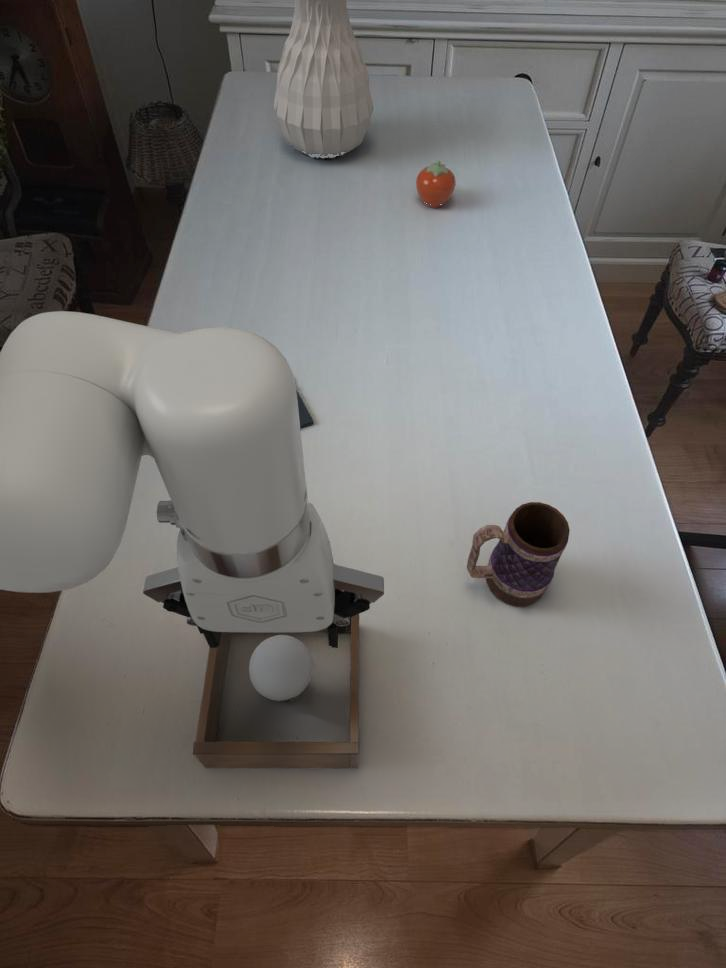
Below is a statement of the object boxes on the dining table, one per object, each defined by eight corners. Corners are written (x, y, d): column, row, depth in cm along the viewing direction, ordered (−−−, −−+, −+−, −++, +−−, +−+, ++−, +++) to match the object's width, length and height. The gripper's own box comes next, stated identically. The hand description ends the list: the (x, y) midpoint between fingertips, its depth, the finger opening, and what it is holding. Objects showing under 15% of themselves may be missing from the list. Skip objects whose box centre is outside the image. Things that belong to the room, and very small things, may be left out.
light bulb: (261, 726, 62) (248, 694, 54) (255, 669, 66) (242, 630, 58) (319, 714, 63) (316, 681, 55) (310, 659, 66) (306, 619, 58)
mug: (536, 550, 75) (564, 492, 65) (553, 605, 71) (586, 551, 61) (452, 558, 74) (468, 500, 64) (464, 613, 70) (483, 560, 60)
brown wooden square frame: (204, 769, 60) (192, 753, 55) (224, 623, 69) (215, 598, 64) (357, 769, 60) (359, 753, 55) (358, 624, 69) (359, 599, 64)
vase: (295, 178, 125) (283, -6, 100) (264, 133, 135) (246, -43, 111) (387, 161, 130) (396, -19, 105) (350, 119, 140) (351, -53, 116)
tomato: (456, 211, 119) (463, 169, 112) (418, 214, 118) (422, 171, 111) (447, 191, 123) (453, 149, 117) (410, 193, 122) (414, 151, 116)
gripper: (88, 571, 36) (162, 675, 50) (391, 571, 36) (381, 675, 50) (118, 467, 40) (178, 589, 54) (387, 468, 40) (379, 589, 54)
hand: (275, 630), depth 52 cm, fingers open, 9 cm apart
